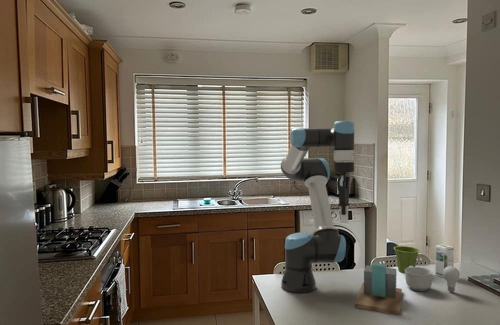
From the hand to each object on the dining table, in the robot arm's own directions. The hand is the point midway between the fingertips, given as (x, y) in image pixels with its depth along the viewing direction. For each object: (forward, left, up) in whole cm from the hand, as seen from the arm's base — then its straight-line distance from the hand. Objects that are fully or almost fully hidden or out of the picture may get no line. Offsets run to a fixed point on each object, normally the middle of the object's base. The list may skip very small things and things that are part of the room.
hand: (344, 222), depth 138 cm
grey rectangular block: (+12, +15, -31) cm, 36 cm away
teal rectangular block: (+12, +14, -29) cm, 35 cm away
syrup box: (+38, +52, -33) cm, 72 cm away
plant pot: (+21, +52, -33) cm, 65 cm away
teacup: (+26, +32, -33) cm, 53 cm away
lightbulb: (+39, +31, -33) cm, 60 cm away
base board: (+12, +12, -32) cm, 36 cm away
